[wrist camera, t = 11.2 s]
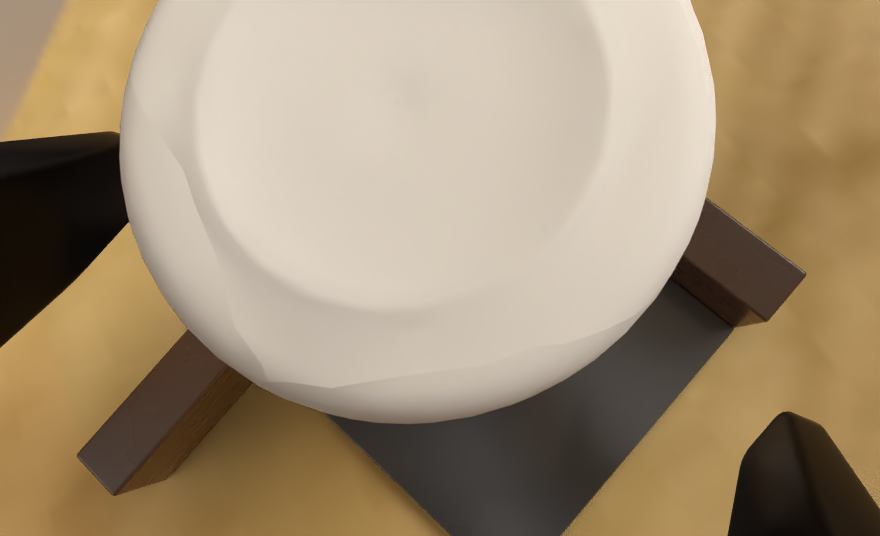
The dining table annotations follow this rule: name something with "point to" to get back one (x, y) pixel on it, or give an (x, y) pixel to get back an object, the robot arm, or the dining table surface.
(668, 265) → the sprinkles bottle
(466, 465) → the corner guide
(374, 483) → the dining table surface
